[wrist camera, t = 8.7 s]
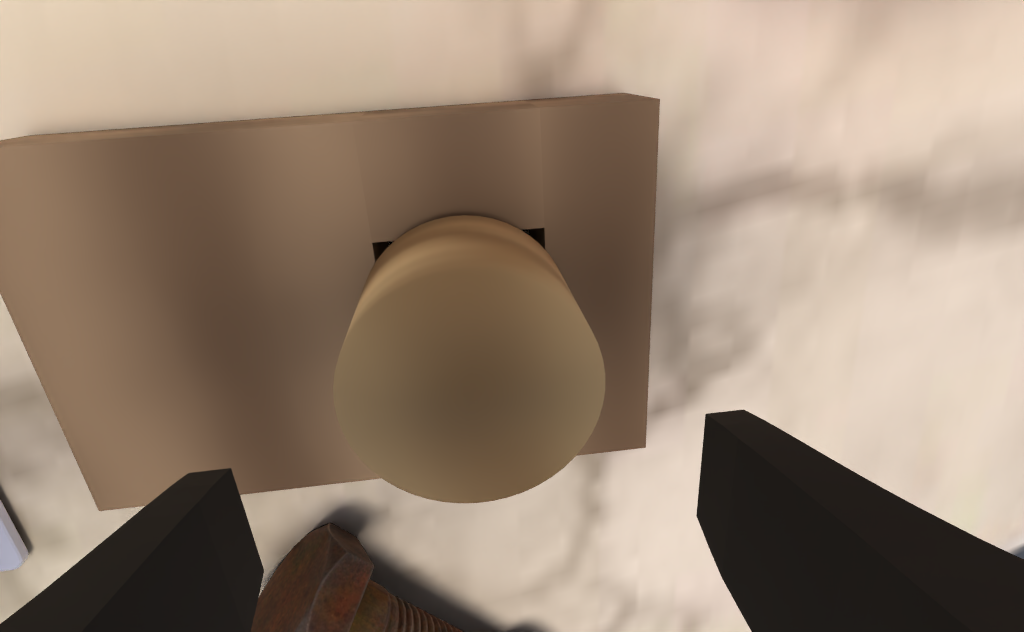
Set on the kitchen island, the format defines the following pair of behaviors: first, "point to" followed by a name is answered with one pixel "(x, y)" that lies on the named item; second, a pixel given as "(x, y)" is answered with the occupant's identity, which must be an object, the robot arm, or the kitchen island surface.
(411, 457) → the oak peg
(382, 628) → the bolt
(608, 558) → the kitchen island surface
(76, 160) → the brown flat rectangular block
